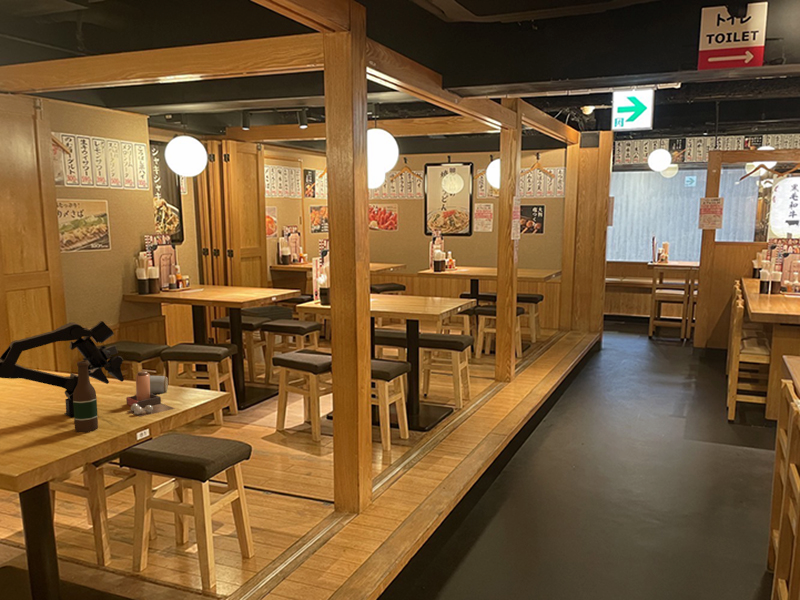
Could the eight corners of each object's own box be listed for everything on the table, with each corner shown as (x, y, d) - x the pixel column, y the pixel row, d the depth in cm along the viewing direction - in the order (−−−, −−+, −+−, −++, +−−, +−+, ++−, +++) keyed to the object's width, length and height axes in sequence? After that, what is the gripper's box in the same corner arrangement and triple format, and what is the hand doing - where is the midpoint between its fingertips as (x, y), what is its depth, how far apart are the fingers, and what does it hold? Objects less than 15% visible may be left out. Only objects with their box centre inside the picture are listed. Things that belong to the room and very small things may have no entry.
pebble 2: (136, 416, 230) (136, 408, 229) (132, 414, 232) (132, 406, 231) (144, 414, 232) (144, 406, 232) (140, 412, 234) (140, 404, 234)
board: (140, 418, 229) (139, 416, 229) (126, 413, 236) (126, 411, 236) (175, 410, 240) (175, 408, 240) (161, 405, 246) (161, 403, 246)
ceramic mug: (166, 395, 261) (165, 377, 260) (145, 396, 259) (144, 377, 258) (169, 389, 271) (169, 371, 270) (149, 389, 269) (149, 372, 269)
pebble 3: (147, 414, 232) (146, 406, 231) (143, 413, 234) (142, 405, 233) (154, 412, 234) (154, 405, 234) (150, 411, 236) (150, 403, 236)
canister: (144, 407, 242) (142, 374, 240) (133, 405, 244) (132, 372, 242) (153, 403, 247) (152, 371, 245) (143, 402, 248) (142, 370, 247)
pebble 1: (133, 413, 233) (132, 405, 233) (129, 411, 235) (129, 403, 235) (141, 411, 236) (140, 403, 235) (137, 409, 238) (136, 402, 237)
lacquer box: (138, 410, 239) (137, 401, 238) (126, 406, 245) (126, 397, 244) (160, 405, 246) (160, 396, 245) (149, 401, 252) (148, 392, 251)
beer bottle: (92, 424, 223) (89, 358, 220) (103, 429, 218) (99, 361, 215) (69, 429, 217) (65, 361, 214) (80, 434, 212) (76, 365, 209)
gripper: (120, 334, 236) (144, 365, 243) (90, 340, 245) (114, 370, 252) (99, 353, 228) (125, 385, 234) (69, 359, 237) (95, 389, 244)
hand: (115, 382), depth 241 cm, fingers open, 9 cm apart
